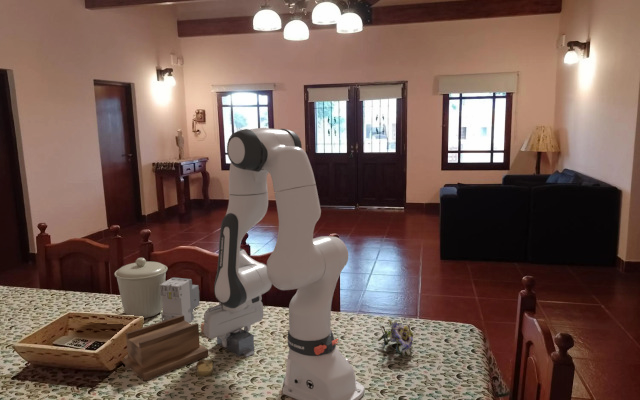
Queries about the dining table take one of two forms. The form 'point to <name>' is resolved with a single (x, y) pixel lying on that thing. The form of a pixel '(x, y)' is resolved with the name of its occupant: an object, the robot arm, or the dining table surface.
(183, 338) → the stand
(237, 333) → the slider plate with knob
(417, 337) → the dining table surface
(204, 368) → the brass knob
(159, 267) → the canister
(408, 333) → the passion flower
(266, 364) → the dining table surface
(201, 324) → the terracotta block
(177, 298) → the circuit breaker
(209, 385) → the dining table surface
